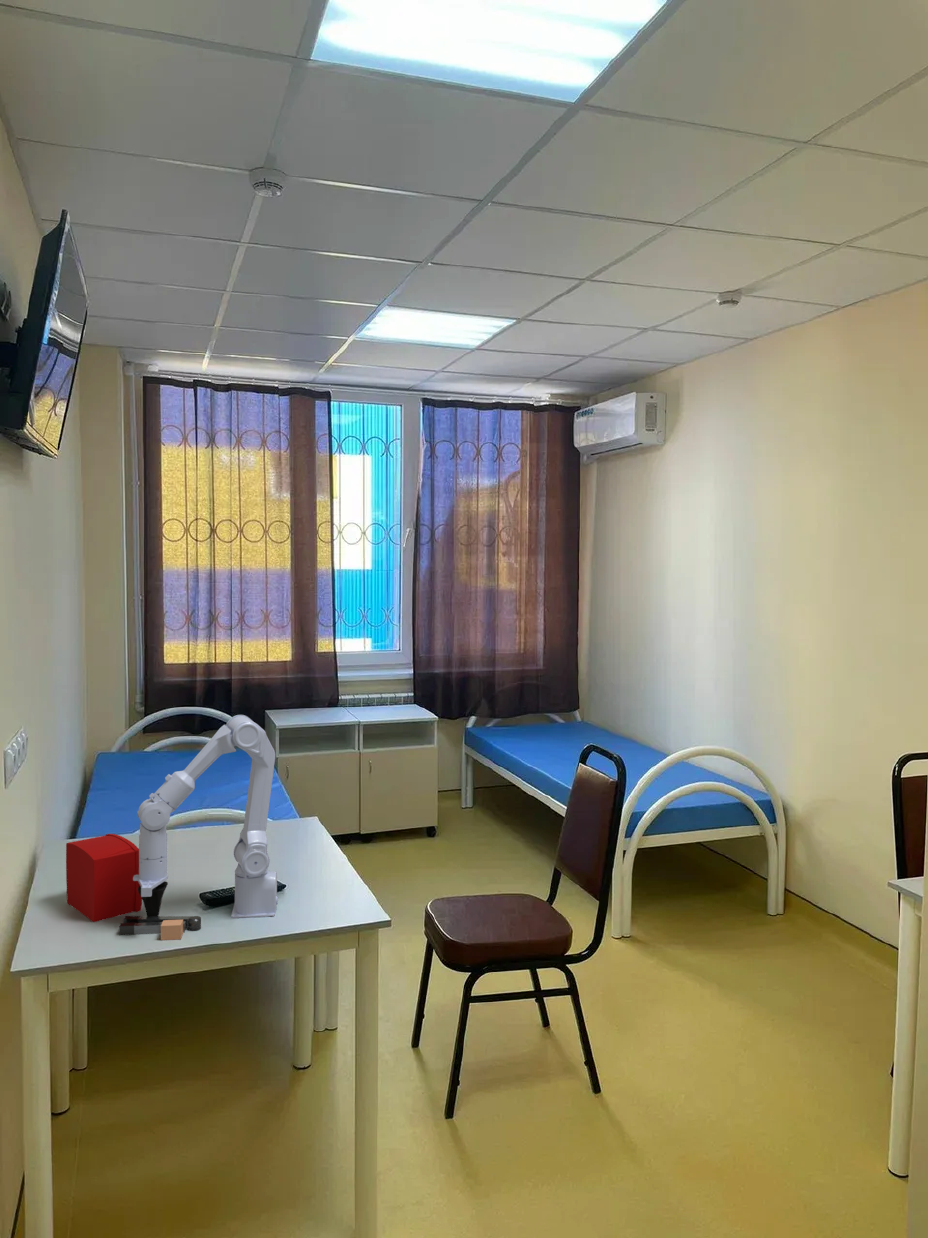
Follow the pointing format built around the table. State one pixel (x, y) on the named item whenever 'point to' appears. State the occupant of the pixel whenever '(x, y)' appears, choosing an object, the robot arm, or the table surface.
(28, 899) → the table surface
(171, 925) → the block
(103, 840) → the red curved-top box
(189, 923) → the tongs arm
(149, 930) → the tongs handle
